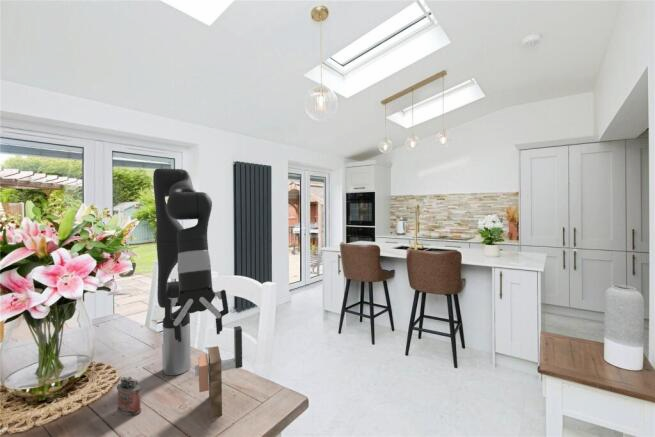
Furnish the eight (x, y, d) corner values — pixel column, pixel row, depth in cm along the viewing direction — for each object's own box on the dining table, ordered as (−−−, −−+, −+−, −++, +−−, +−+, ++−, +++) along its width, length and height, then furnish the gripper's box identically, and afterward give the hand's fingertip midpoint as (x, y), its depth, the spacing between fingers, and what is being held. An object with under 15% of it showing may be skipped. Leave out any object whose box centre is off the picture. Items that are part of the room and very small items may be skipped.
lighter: (114, 411, 93) (113, 378, 93) (125, 404, 96) (124, 372, 96) (133, 417, 90) (133, 383, 90) (144, 410, 93) (143, 377, 93)
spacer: (199, 392, 90) (199, 366, 90) (198, 379, 97) (198, 355, 97) (208, 390, 91) (208, 364, 91) (207, 377, 98) (207, 353, 98)
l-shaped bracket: (195, 377, 92) (194, 336, 91) (195, 372, 94) (194, 332, 94) (242, 367, 97) (241, 329, 97) (240, 363, 100) (240, 325, 99)
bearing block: (211, 417, 90) (210, 363, 89) (209, 396, 100) (208, 347, 100) (222, 415, 91) (221, 361, 91) (218, 394, 101) (218, 346, 101)
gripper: (224, 266, 83) (230, 329, 81) (165, 274, 79) (169, 340, 76) (224, 266, 76) (230, 334, 74) (159, 274, 72) (164, 347, 69)
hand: (199, 337), depth 75 cm, fingers open, 8 cm apart
